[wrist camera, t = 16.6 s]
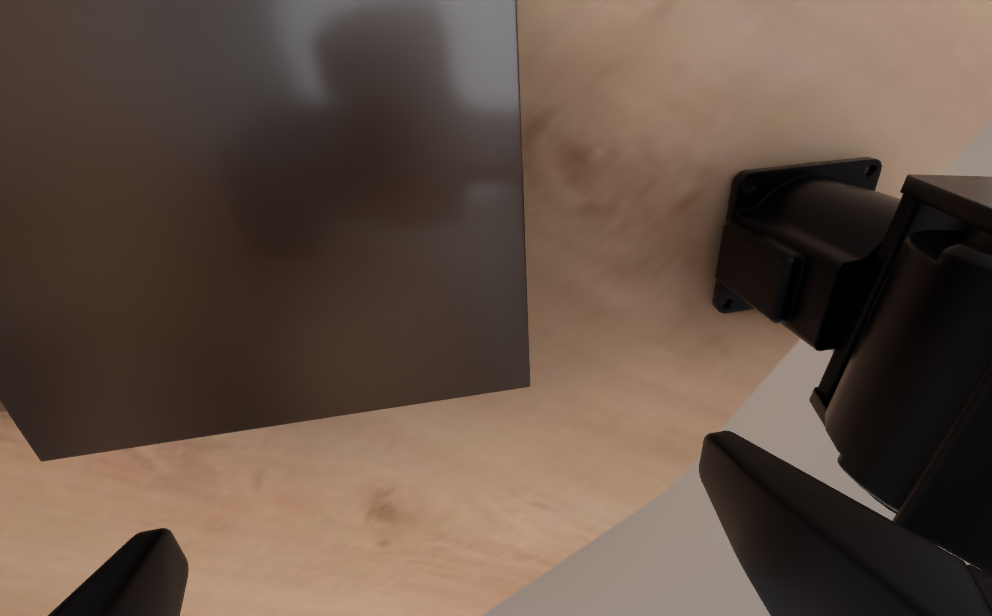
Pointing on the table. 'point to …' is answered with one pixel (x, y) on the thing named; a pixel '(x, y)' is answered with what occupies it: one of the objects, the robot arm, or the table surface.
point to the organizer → (255, 213)
